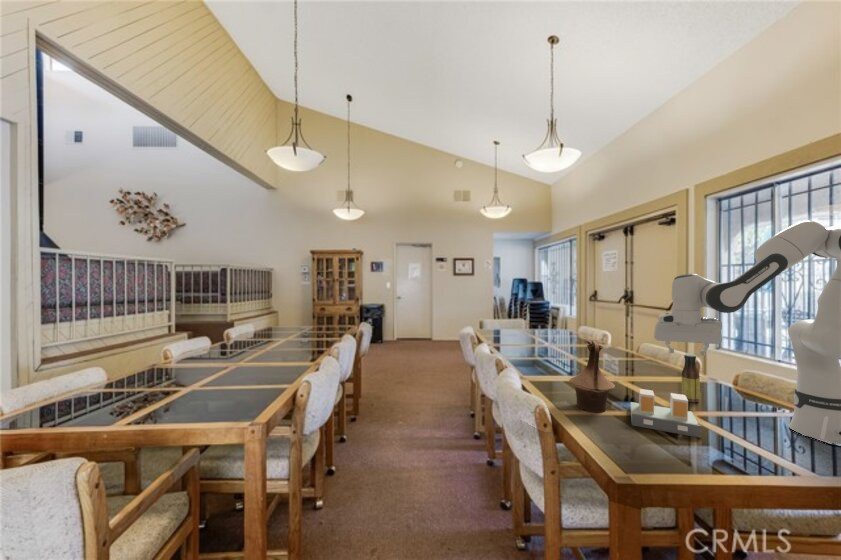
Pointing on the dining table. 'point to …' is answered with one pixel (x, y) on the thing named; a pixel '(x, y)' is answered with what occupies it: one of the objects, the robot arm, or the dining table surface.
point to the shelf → (665, 421)
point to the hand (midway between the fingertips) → (686, 354)
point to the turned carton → (679, 406)
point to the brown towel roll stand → (592, 382)
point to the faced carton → (646, 401)
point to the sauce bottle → (690, 379)
